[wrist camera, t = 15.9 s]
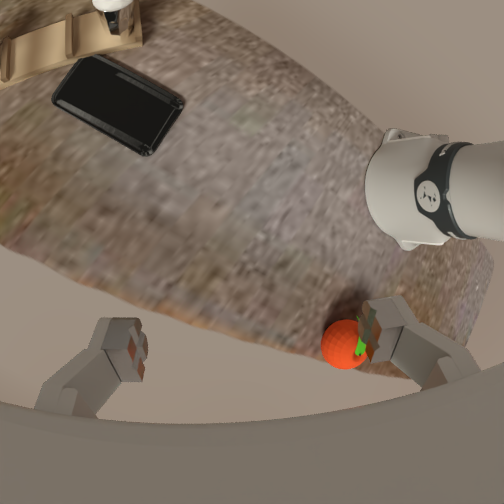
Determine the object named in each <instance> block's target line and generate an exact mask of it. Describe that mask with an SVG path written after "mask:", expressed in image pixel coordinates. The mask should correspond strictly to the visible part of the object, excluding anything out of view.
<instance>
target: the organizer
mask: <svg viewBox="0 0 504 504" xmlns="http://www.w3.org/2000/svg"><path fill="white" fill-rule="evenodd" d="M141 46H142V29H141V20H140V9H139V0H136V1H135V8H134V17H133V29H132V31H131V33H130V35H129V36H128V37H127V38H125V39H123V40H121V41H112V40H111V39H109V38H108V37H107V36H106V34H105V31H104V29H103V26H102V24H101V21H100V18H99V16H98V14H97V12H92V13H88V14H84V15H81V16H77V17H74V18H73V15H72V13H70V14H67V15H66V17H65V20H64V21H61V22H58V23H55V24H52V25H49V26H46V27H43V28H40V29H38V30H35V31H32V32H30V33H27V34H25V35H22V36H20V37H17V38H15V39H13V40H11V39H10V37H9V36H8V37H6V38H3V44H2V45H0V90H2V89H4V88H7V87H9V86H11V85H14V84H16V83H18V82H21V81H23V80H26V79H28V78H31V77H34V76H36V75H39V74H42V73H44V72H47V71H50V70H53V69H56V68H59V67H62V66H65V65H68V64H72V63H75V62H77V60H78V59H80V58H85V57H89V56H92V55H94V54H97V55H99V56H100V55H104V54H108V53H113V52H117V51H121V50H126V49H131V48H136V47H141Z"/></svg>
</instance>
